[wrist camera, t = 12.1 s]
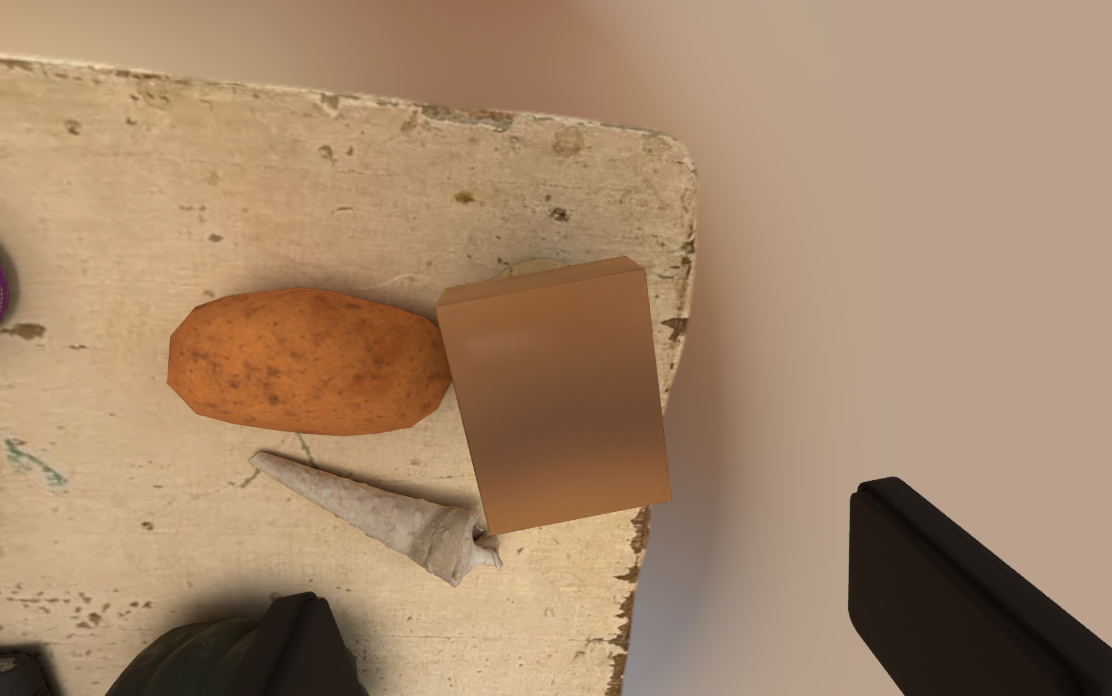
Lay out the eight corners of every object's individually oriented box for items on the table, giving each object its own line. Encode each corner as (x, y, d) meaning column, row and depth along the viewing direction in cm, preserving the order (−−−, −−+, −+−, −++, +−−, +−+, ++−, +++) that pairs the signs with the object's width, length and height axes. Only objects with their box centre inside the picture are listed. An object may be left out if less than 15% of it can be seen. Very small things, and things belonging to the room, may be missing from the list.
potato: (216, 264, 28) (142, 271, 21) (462, 308, 31) (467, 326, 24) (202, 396, 29) (127, 443, 22) (441, 426, 32) (440, 477, 25)
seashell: (496, 556, 35) (486, 617, 31) (253, 476, 33) (208, 531, 29) (520, 511, 33) (512, 570, 29) (264, 424, 31) (218, 475, 27)
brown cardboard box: (444, 288, 20) (433, 306, 18) (626, 255, 21) (645, 268, 18) (492, 492, 23) (490, 536, 20) (652, 461, 23) (672, 501, 21)
